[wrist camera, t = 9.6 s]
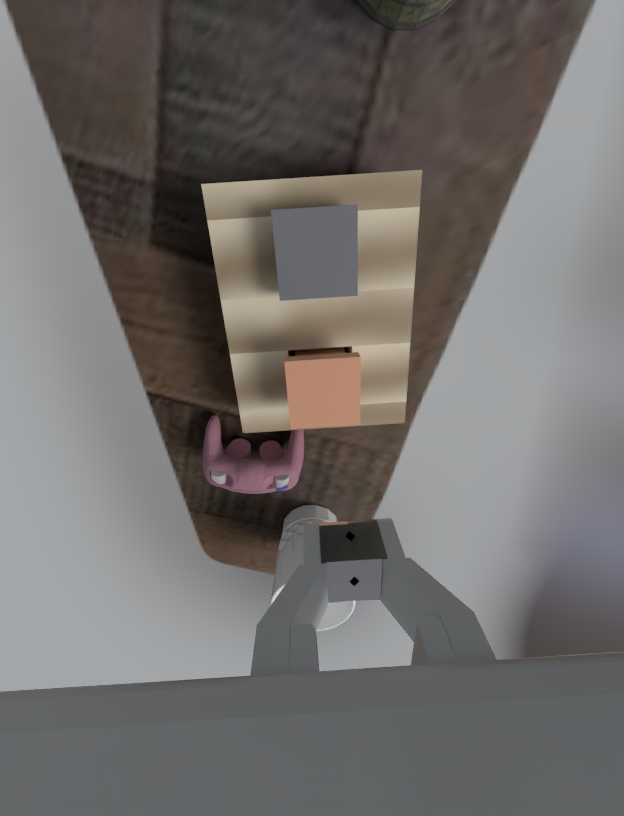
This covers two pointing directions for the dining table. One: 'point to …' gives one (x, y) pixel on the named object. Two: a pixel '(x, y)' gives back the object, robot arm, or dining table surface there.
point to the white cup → (293, 557)
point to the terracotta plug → (323, 387)
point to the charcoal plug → (316, 251)
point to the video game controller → (251, 462)
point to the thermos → (405, 12)
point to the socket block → (322, 317)
